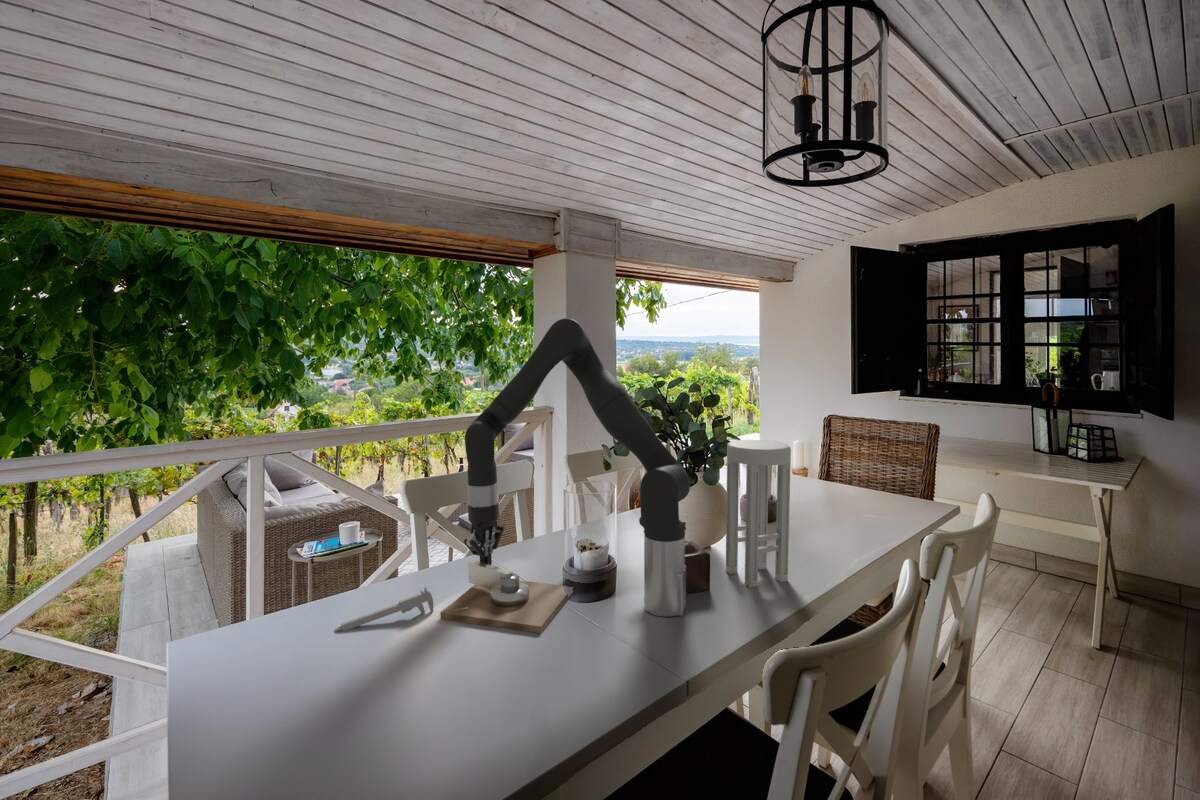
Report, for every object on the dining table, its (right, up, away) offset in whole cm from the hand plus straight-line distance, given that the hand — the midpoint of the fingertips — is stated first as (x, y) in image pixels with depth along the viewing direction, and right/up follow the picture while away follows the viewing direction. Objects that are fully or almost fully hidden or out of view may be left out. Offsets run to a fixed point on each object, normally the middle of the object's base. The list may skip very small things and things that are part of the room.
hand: (486, 568), depth 142 cm
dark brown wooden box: (+47, -5, +2) cm, 47 cm away
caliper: (-19, -7, -16) cm, 26 cm away
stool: (+69, -4, +8) cm, 70 cm away
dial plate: (+7, -6, -9) cm, 13 cm away
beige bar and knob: (+4, -4, -6) cm, 8 cm away
